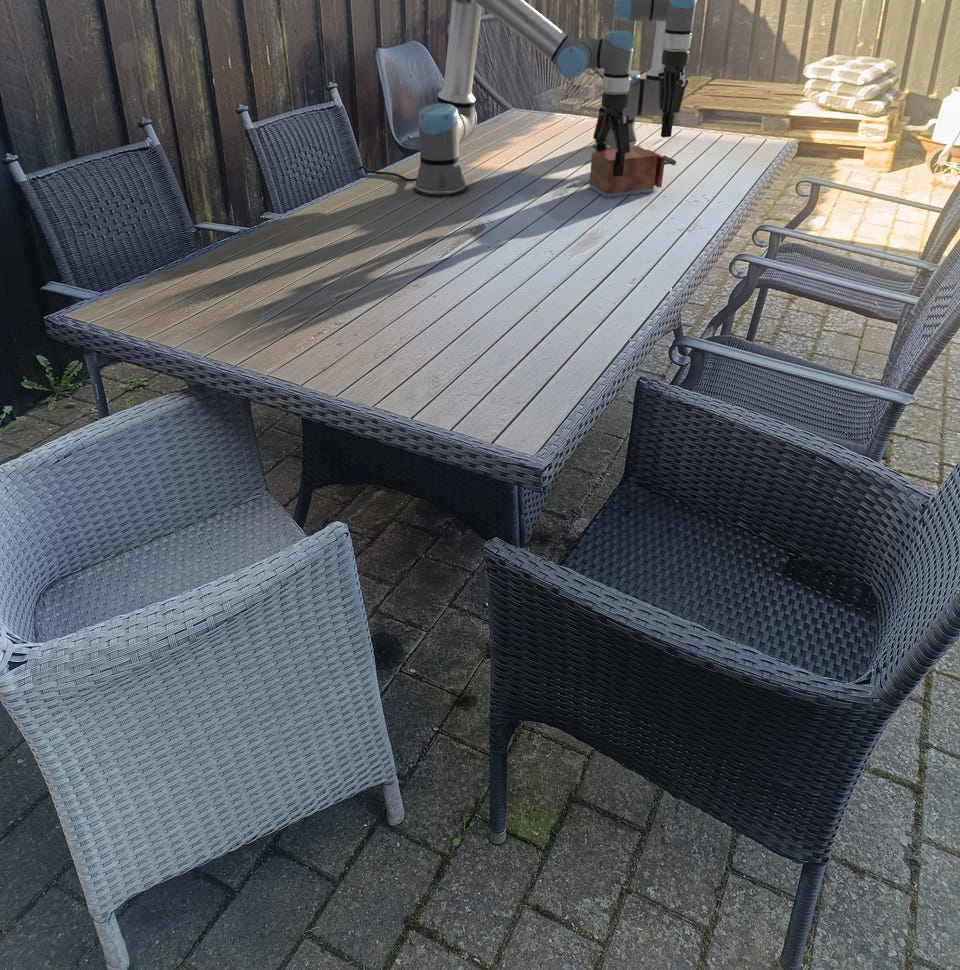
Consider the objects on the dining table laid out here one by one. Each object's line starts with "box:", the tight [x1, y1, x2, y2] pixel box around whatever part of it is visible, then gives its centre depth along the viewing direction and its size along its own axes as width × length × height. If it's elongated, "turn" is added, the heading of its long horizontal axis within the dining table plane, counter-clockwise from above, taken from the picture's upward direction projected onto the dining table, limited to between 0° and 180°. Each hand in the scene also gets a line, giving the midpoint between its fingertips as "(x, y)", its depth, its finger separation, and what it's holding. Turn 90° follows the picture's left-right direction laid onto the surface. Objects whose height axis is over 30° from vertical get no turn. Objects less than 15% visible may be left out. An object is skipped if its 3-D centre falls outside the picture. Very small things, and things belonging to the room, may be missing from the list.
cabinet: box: [588, 146, 657, 198], centre depth 256 cm, size 16×11×11 cm
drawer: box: [646, 149, 677, 188], centre depth 257 cm, size 20×10×9 cm, turn 110°
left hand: (608, 170), depth 254 cm, fingers closed on cabinet, 11 cm apart
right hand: (665, 136), depth 254 cm, fingers closed
